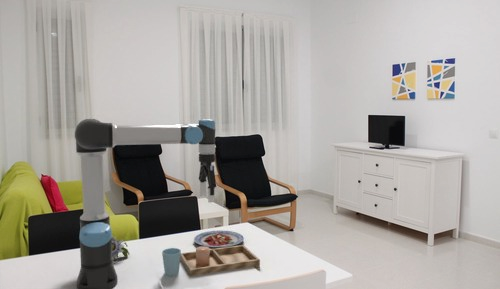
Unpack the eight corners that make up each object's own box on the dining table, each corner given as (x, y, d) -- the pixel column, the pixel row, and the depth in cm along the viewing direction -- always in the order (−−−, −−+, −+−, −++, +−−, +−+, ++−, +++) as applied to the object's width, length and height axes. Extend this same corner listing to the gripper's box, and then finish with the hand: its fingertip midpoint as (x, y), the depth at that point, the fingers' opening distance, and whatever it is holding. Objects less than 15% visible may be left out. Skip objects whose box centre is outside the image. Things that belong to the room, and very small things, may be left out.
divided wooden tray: (190, 278, 167) (190, 270, 167) (179, 260, 186) (179, 253, 185) (259, 267, 179) (259, 259, 178) (243, 252, 197) (243, 245, 197)
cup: (183, 277, 168) (182, 253, 167) (164, 280, 165) (164, 255, 164) (178, 270, 175) (178, 247, 174) (160, 273, 172) (160, 249, 171)
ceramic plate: (184, 241, 213) (184, 235, 212) (222, 231, 230) (222, 226, 230) (214, 255, 194) (214, 249, 193) (254, 242, 211) (254, 237, 211)
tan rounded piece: (197, 267, 175) (197, 252, 175) (194, 262, 181) (194, 247, 180) (211, 265, 178) (211, 250, 177) (207, 260, 183) (207, 245, 182)
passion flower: (110, 272, 185) (93, 254, 182) (115, 259, 196) (99, 241, 192) (130, 259, 185) (113, 240, 181) (134, 246, 195) (118, 228, 191)
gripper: (223, 156, 176) (223, 204, 178) (207, 150, 199) (207, 192, 201) (206, 156, 173) (206, 205, 175) (192, 150, 196) (192, 193, 198)
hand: (207, 199), depth 188 cm, fingers open, 13 cm apart
